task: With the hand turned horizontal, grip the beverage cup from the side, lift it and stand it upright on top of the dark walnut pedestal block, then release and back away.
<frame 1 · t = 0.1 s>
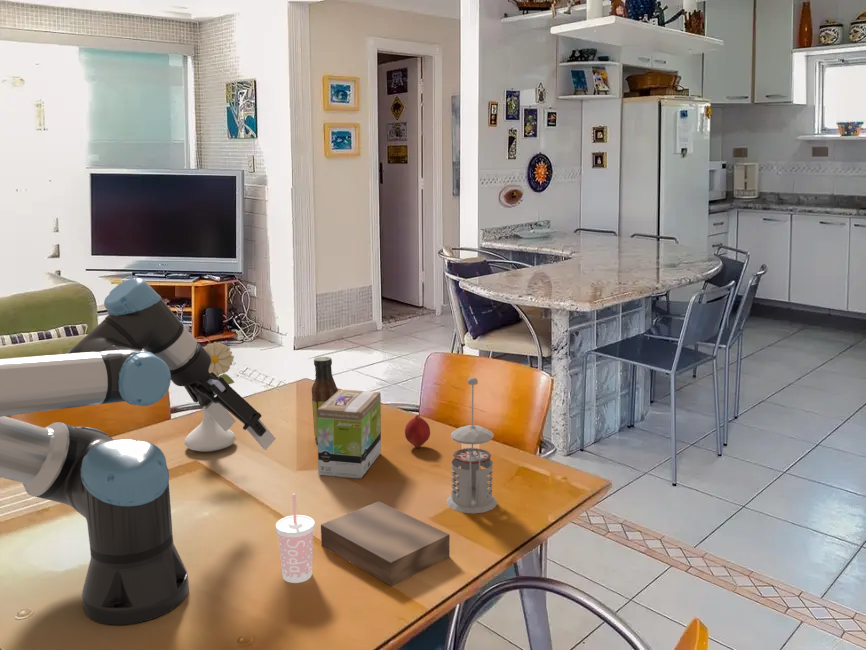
hand: (249, 434, 146), 15 cm above the table, tool tilted 35°, fingers open, 13 cm apart
sauce bottle: (327, 441, 186), on the table
flower in vase: (213, 448, 182), on the table
onion: (417, 448, 181), on the table
beverage cup: (297, 576, 127), on the table
walnut pedestal: (384, 551, 134), on the table
tea box: (351, 465, 172), on the table
french press: (472, 505, 152), on the table
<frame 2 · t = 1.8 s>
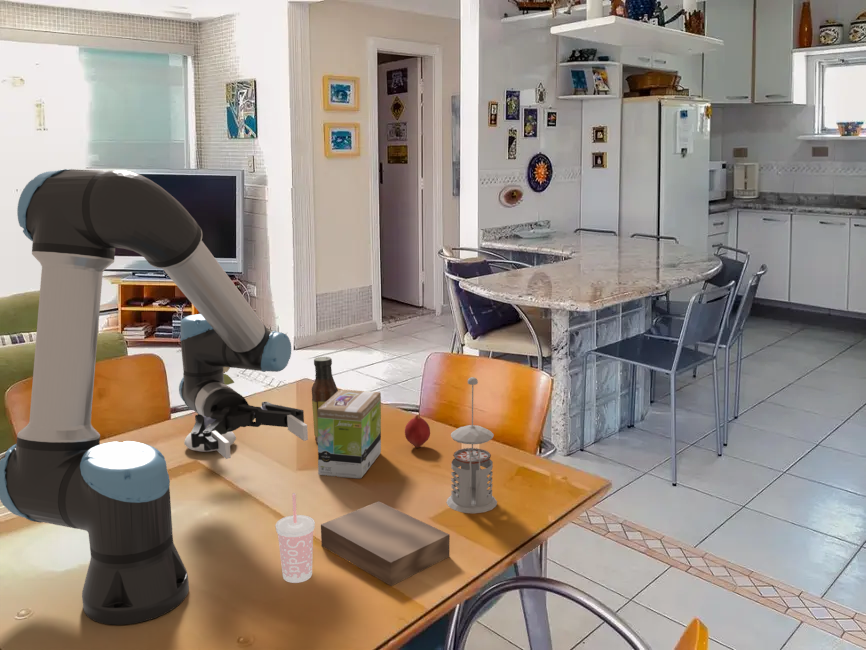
hand: (267, 441, 130), 20 cm above the table, tool horizontal, fingers open, 13 cm apart
nothing on the table moved.
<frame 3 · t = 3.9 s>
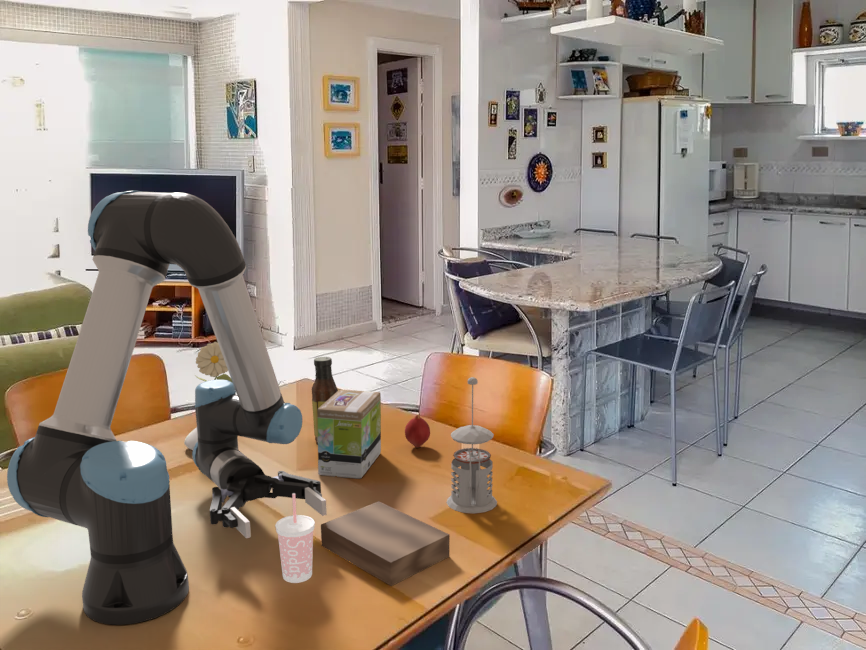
hand: (287, 518, 130), 7 cm above the table, tool horizontal, fingers open, 13 cm apart
nothing on the table moved.
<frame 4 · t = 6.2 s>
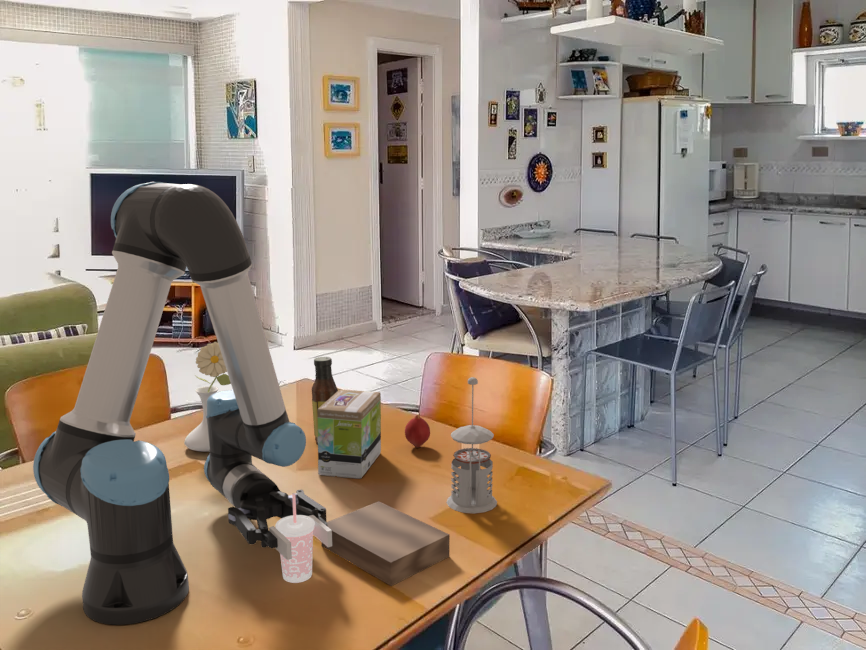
hand: (309, 544, 121), 8 cm above the table, tool horizontal, fingers closed on beverage cup, 6 cm apart
beverage cup: (297, 576, 127), on the table, touching gripper
everything else where it was.
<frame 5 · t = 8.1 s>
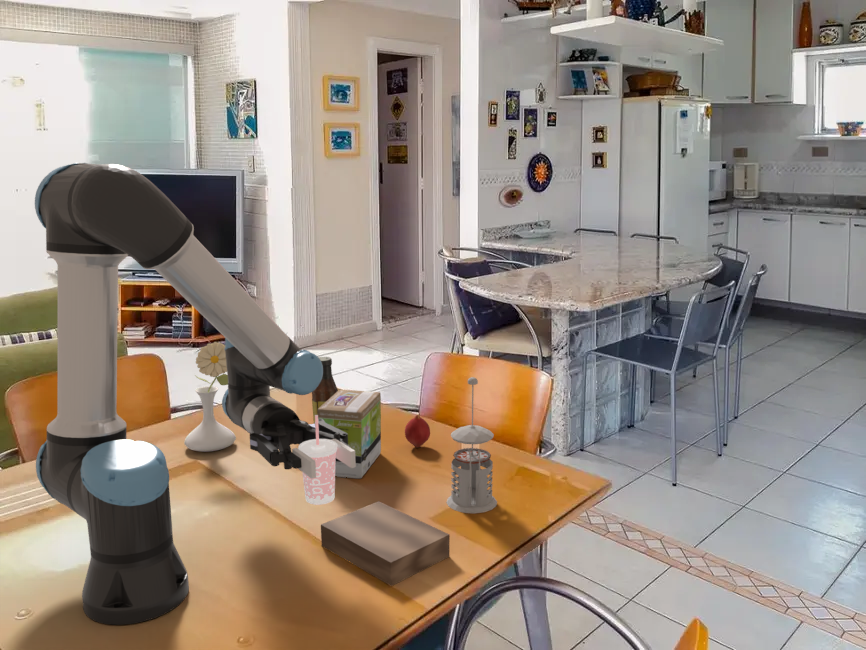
hand: (333, 464, 121), 19 cm above the table, tool horizontal, fingers closed on beverage cup, 6 cm apart
beverage cup: (320, 499, 127), point 12 cm above the table, touching gripper
everything else where it was.
when the fingers open (13 cm above the table, at t = 10.3 s): beverage cup drops 1 cm, resting on walnut pedestal.
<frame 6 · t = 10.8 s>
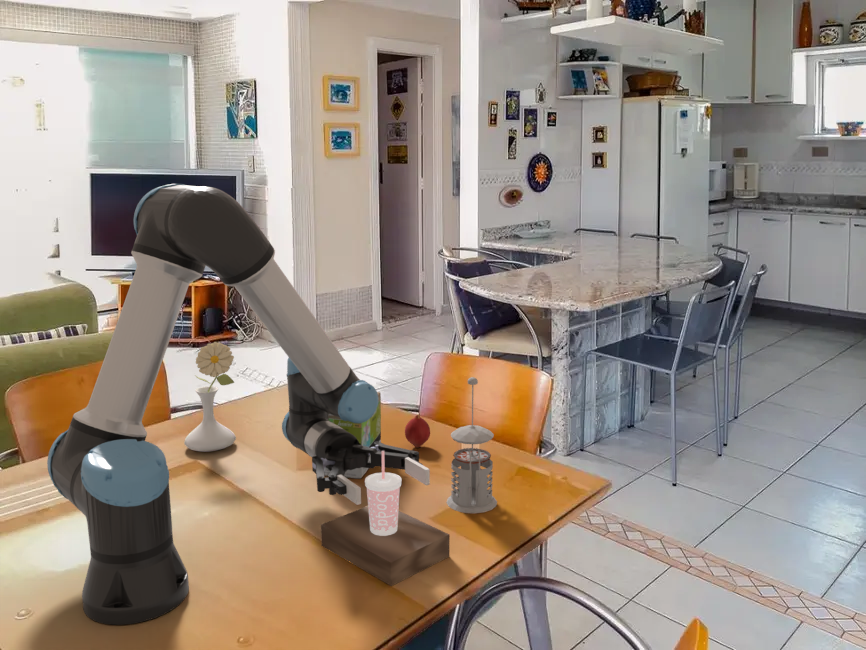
hand: (394, 486, 129), 13 cm above the table, tool horizontal, fingers open, 12 cm apart
beverage cup: (383, 530, 133), point 4 cm above the table, touching walnut pedestal
everything else where it was.
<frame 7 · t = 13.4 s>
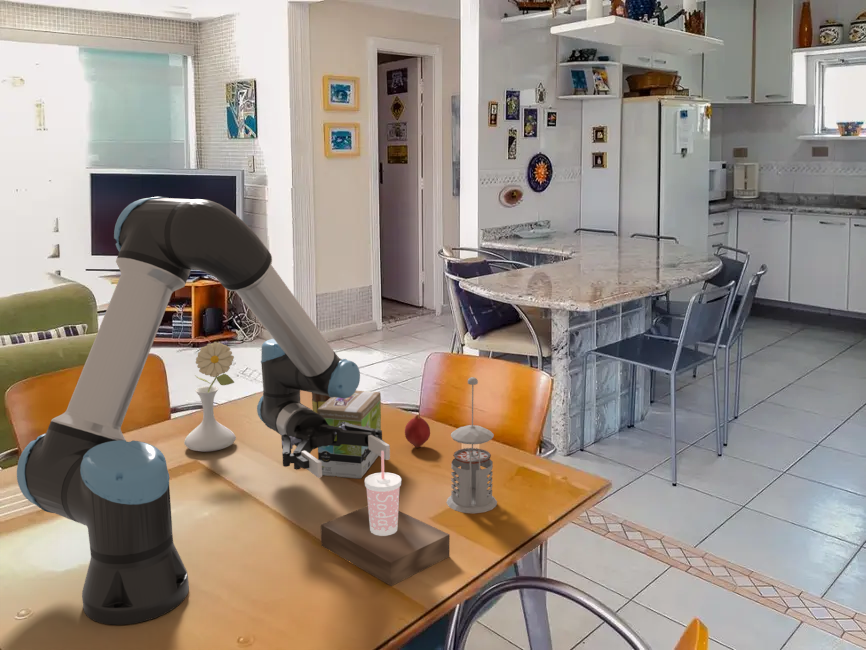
hand: (355, 461, 139), 13 cm above the table, tool horizontal, fingers open, 13 cm apart
nothing on the table moved.
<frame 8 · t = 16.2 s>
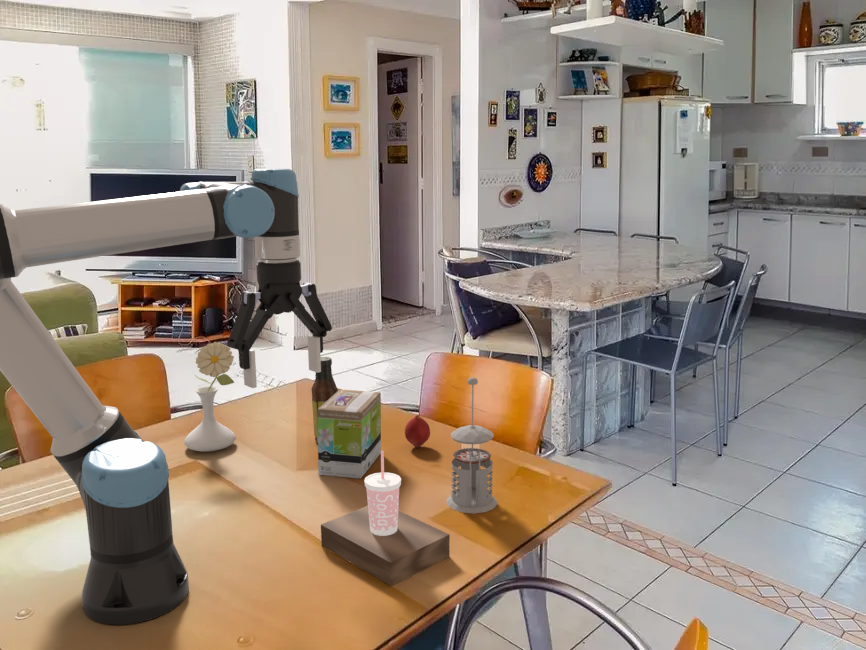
hand: (283, 378, 141), 27 cm above the table, tool pointing down, fingers open, 13 cm apart
nothing on the table moved.
at the end: beverage cup inside the target area on the walnut pedestal (0.1 cm from its centre), point 3.8 cm above the walnut pedestal's base; beverage cup tilted 0°; beverage cup touching walnut pedestal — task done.
